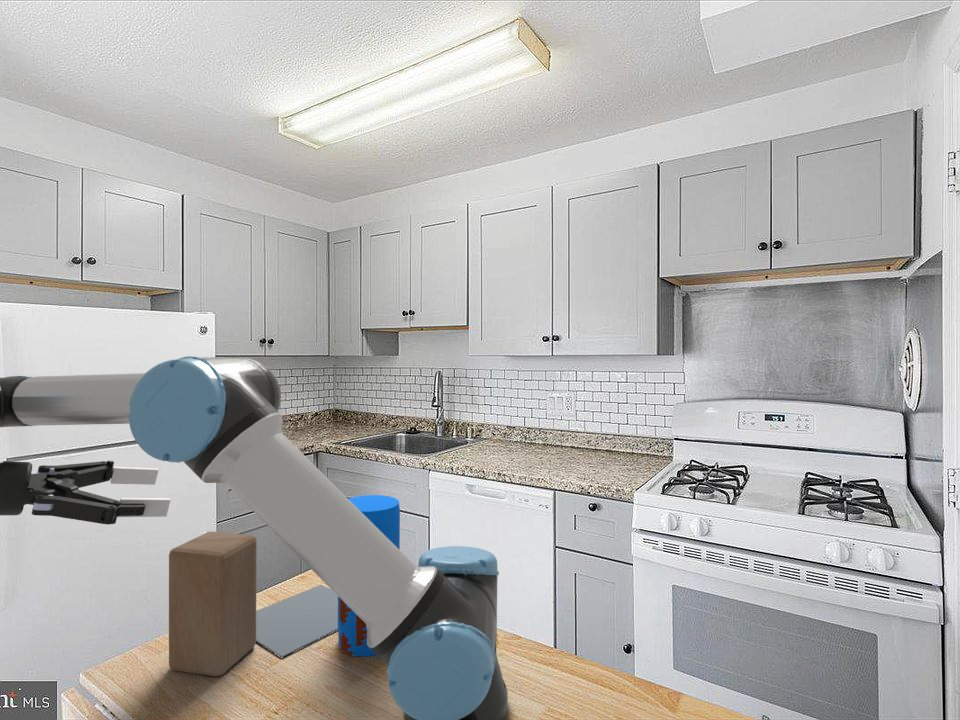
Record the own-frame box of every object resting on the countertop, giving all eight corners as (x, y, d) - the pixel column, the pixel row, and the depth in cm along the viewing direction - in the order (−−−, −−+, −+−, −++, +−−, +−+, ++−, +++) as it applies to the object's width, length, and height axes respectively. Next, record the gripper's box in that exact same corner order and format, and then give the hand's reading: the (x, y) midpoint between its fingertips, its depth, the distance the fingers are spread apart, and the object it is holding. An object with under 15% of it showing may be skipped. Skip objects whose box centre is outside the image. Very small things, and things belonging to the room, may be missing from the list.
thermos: (381, 619, 104) (382, 491, 104) (410, 643, 96) (411, 504, 96) (327, 637, 98) (328, 501, 97) (353, 664, 89) (355, 515, 89)
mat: (376, 611, 107) (376, 609, 107) (281, 658, 91) (281, 656, 91) (320, 586, 118) (320, 584, 118) (227, 624, 102) (227, 622, 102)
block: (220, 680, 85) (220, 554, 84) (165, 671, 87) (165, 549, 86) (258, 646, 94) (259, 533, 94) (208, 639, 96) (209, 529, 96)
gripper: (-6, 481, 85) (147, 485, 99) (-26, 554, 66) (167, 546, 79) (5, 436, 85) (157, 446, 98) (-13, 496, 66) (179, 498, 79)
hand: (162, 491), depth 89 cm, fingers open, 13 cm apart
